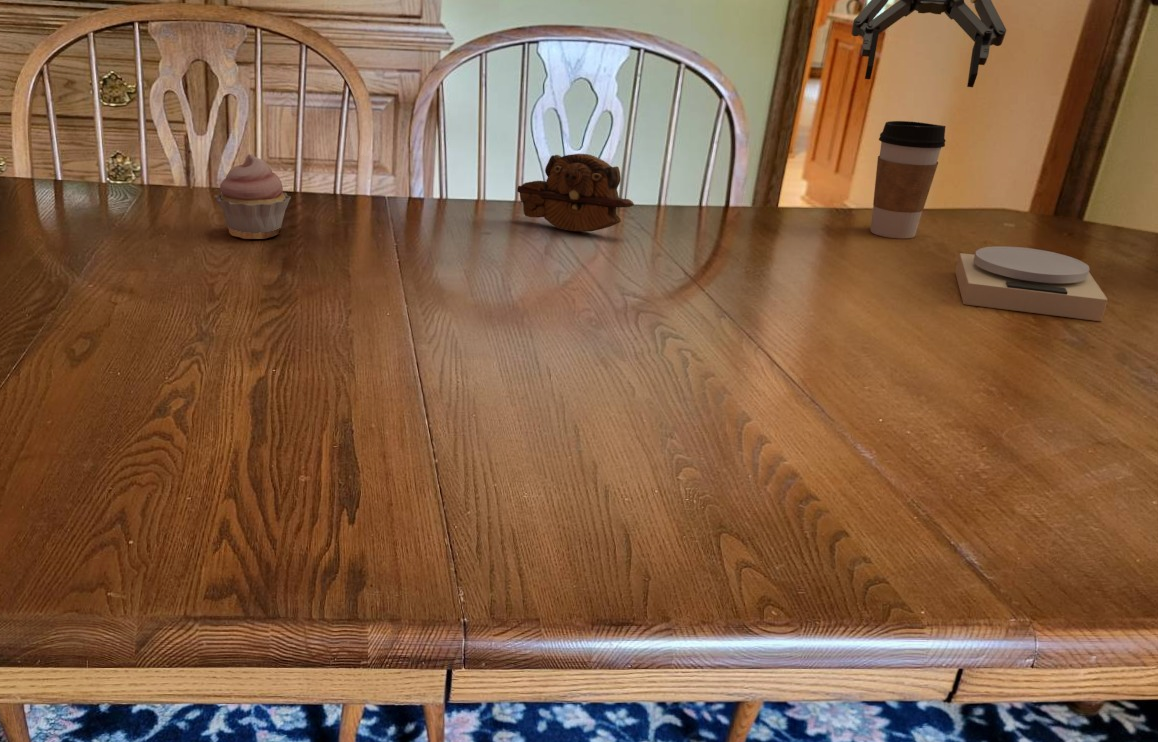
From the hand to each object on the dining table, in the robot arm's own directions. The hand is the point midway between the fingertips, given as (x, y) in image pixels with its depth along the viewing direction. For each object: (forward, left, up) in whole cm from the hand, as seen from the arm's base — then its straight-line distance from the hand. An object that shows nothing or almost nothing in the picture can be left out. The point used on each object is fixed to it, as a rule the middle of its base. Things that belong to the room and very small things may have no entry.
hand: (919, 77), depth 153 cm
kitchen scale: (-14, +36, -20) cm, 43 cm away
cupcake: (+77, +52, -20) cm, 95 cm away
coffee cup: (0, +11, -20) cm, 23 cm away
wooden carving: (+41, +31, -20) cm, 55 cm away
